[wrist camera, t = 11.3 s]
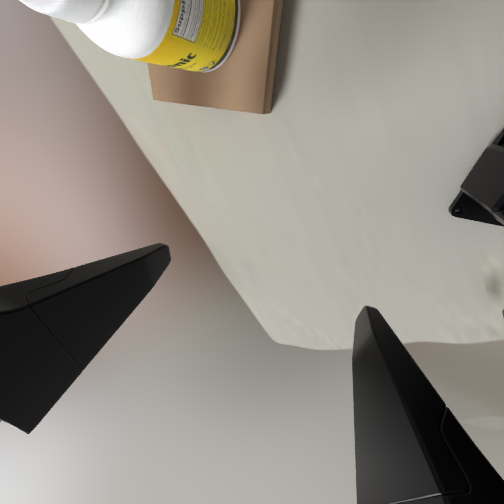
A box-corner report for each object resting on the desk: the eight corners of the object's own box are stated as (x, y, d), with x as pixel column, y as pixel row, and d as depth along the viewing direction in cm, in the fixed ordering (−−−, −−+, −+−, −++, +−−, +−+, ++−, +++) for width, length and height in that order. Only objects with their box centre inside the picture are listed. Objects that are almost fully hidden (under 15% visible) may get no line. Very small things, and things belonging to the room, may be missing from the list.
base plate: (294, -97, 11) (286, -131, 9) (270, 113, 16) (262, 114, 15) (148, -82, 13) (121, -108, 11) (169, 100, 18) (153, 100, 17)
